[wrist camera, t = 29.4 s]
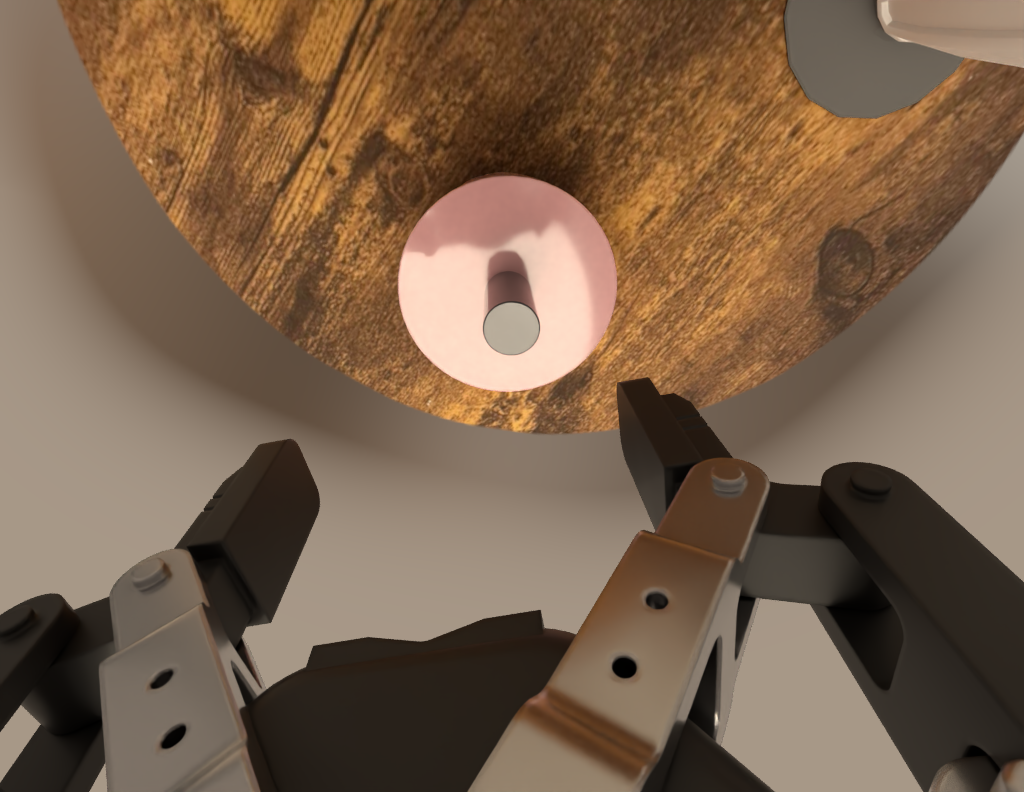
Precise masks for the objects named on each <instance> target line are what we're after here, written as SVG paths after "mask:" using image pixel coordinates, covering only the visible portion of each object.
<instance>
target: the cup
mask: <svg viewBox="0 0 1024 792" xmlns="http://www.w3.org/2000/svg"><path fill="white" fill-rule="evenodd" d="M784 22H785V31H786V41H787V51H788V61H789V65H790V67H791V69H792V71H793V73H794V74H795V76H796V78H797V80H798V81H799V83H800V85H801V87H802V89H803V90H804V92H805V94H806V96H807V97H808V99H810V100H811V101H813V102H815V103H816V104H818V105H820V106H821V107H823V108H825V109H826V110H828V111H829V112H831V113H833V114H834V115H836V116H838V117H850V118H879V117H881V116H884V115H886V114H889V113H892V112H894V111H897V110H899V109H902V108H904V107H907V106H910V105H912V104H915V103H917V102H918V101H919V100H920V99H922V98H923V97H924V96H925V95H927V94H928V93H929V92H930V91H932V90H933V89H934V88H935V87H936V86H938V85H939V84H940V83H941V82H943V81H944V80H945V79H946V78H947V77H949V76H950V75H951V74H952V73H954V72H955V70H956V69H957V68H958V66H959V65H960V63H961V62H962V61H963V59H964V58H969V59H975V60H981V61H987V62H993V63H999V64H1005V65H1011V66H1017V67H1022V68H1024V0H788V3H787V7H786V11H785V16H784Z"/></svg>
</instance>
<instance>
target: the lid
mask: <svg viewBox="0 0 1024 792" xmlns="http://www.w3.org/2000/svg"><path fill="white" fill-rule="evenodd" d="M616 293H617V272H616V265H615V260H614V255H613V252H612V249H611V246H610V244H609V241H608V239H607V237H606V235H605V233H604V231H603V229H602V228H601V226H600V225H599V223H598V222H597V220H596V219H595V217H594V216H593V215H592V214H591V213H590V212H589V211H588V210H587V209H586V207H585V206H584V205H583V204H581V203H580V202H579V201H578V200H576V199H575V198H574V197H573V196H572V195H570V194H569V193H567V192H565V191H564V190H562V189H560V188H559V187H557V186H555V185H552V184H550V183H547V182H545V181H542V180H539V179H535V178H531V177H526V176H518V175H496V176H490V177H484V178H480V179H477V180H474V181H471V182H468V183H465V184H463V185H461V186H459V187H457V188H455V189H453V190H451V191H450V192H448V193H447V194H445V195H444V196H443V197H441V198H440V199H439V200H438V201H436V202H435V203H434V204H433V205H432V206H431V207H430V208H429V209H428V210H427V211H426V212H425V214H424V215H423V216H422V217H421V218H420V220H419V221H418V222H417V224H416V225H415V227H414V229H413V230H412V232H411V233H410V235H409V238H408V240H407V242H406V244H405V247H404V250H403V253H402V256H401V260H400V265H399V272H398V296H399V304H400V308H401V312H402V316H403V319H404V322H405V324H406V326H407V329H408V331H409V333H410V335H411V336H412V338H413V340H414V342H415V343H416V345H417V346H418V347H419V349H420V350H421V351H422V353H423V354H424V355H425V356H426V357H427V358H428V359H429V360H430V361H431V362H432V363H433V364H434V365H436V366H437V367H438V368H439V369H440V370H442V371H443V372H445V373H446V374H448V375H449V376H451V377H453V378H454V379H456V380H459V381H461V382H463V383H465V384H468V385H471V386H474V387H477V388H481V389H486V390H490V391H502V392H510V391H522V390H529V389H533V388H536V387H540V386H543V385H546V384H548V383H551V382H553V381H555V380H557V379H559V378H561V377H563V376H565V375H566V374H568V373H569V372H570V371H572V370H573V369H575V368H576V367H577V366H578V365H580V364H581V363H582V362H583V361H584V360H585V359H586V358H587V357H588V356H589V355H590V353H591V352H592V351H593V350H594V349H595V348H596V346H597V345H598V343H599V342H600V340H601V339H602V337H603V335H604V333H605V331H606V329H607V327H608V325H609V323H610V320H611V317H612V314H613V311H614V306H615V301H616Z"/></svg>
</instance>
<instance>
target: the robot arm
mask: <svg viewBox="0 0 1024 792" xmlns="http://www.w3.org/2000/svg"><path fill="white" fill-rule="evenodd" d="M617 402H618V413H619V425H620V436H621V444H622V449H623V453H624V457H625V460H626V463H627V465H628V467H629V470H630V472H631V475H632V477H633V479H634V482H635V484H636V486H637V489H638V491H639V493H640V496H641V498H642V500H643V503H644V505H645V508H646V510H647V512H648V515H649V517H650V519H651V522H652V524H653V526H654V529H655V533H652V532H649V531H646V530H641V531H640V532H638V534H637V535H636V536H635V538H634V539H633V541H632V542H631V544H630V546H629V547H628V549H627V551H626V552H625V554H624V556H623V557H622V559H621V561H620V563H619V564H618V566H617V567H616V569H615V571H614V572H613V574H612V576H611V577H610V579H609V581H608V582H607V584H606V586H605V588H604V589H603V591H602V593H601V594H600V596H599V598H598V599H597V601H596V603H595V604H594V606H593V608H592V609H591V611H590V613H589V614H588V616H587V618H586V620H585V621H584V623H583V624H582V626H581V628H580V629H579V631H578V633H577V634H573V633H570V632H566V631H560V630H556V629H546V628H544V624H543V619H542V614H541V610H537V611H530V612H524V613H517V614H511V615H506V616H498V617H492V618H486V619H482V620H480V621H477V622H474V623H472V624H470V625H467V626H464V627H462V628H459V629H457V630H454V631H451V632H449V633H446V634H444V635H441V636H439V637H436V638H433V639H431V640H428V641H423V642H417V641H406V640H394V639H382V638H372V637H366V638H360V639H354V640H348V641H341V642H335V643H329V644H322V645H316V646H313V648H312V651H311V654H310V657H309V660H308V663H307V666H306V667H305V668H303V669H301V670H298V671H297V672H295V673H292V674H291V675H289V676H287V677H285V678H283V679H282V680H280V681H279V682H277V683H275V684H273V685H272V686H271V687H269V688H268V689H266V687H265V684H264V682H263V680H262V677H261V675H260V673H259V670H258V668H257V665H256V663H255V661H254V658H253V656H252V654H251V651H250V649H249V646H248V645H247V643H246V641H245V640H244V638H243V637H242V635H243V633H244V631H245V628H246V627H248V626H254V625H260V624H267V623H271V622H272V619H273V617H274V615H275V612H276V610H277V608H278V606H279V603H280V601H281V598H282V596H283V594H284V592H285V589H286V587H287V585H288V582H289V580H290V578H291V575H292V573H293V571H294V568H295V566H296V564H297V561H298V559H299V557H300V555H301V552H302V550H303V547H304V545H305V543H306V541H307V538H308V536H309V534H310V531H311V529H312V527H313V524H314V522H315V520H316V517H317V515H318V512H319V507H320V498H319V492H318V489H317V486H316V484H315V482H314V479H313V477H312V475H311V473H310V470H309V468H308V466H307V463H306V461H305V459H304V457H303V454H302V452H301V450H300V448H299V446H298V444H297V443H296V442H295V441H294V440H293V439H287V440H282V441H275V442H270V443H265V444H260V445H258V447H257V448H256V449H255V451H254V452H253V453H252V455H251V456H250V458H249V459H248V460H247V462H246V463H245V465H244V466H243V467H241V468H240V469H239V470H237V471H236V472H235V473H234V474H232V475H231V476H230V477H229V478H228V479H226V480H225V481H224V482H223V483H222V485H221V486H220V487H219V489H218V490H217V491H216V493H215V494H214V496H213V499H210V501H209V502H208V504H207V505H206V506H205V508H204V512H201V513H200V515H199V516H198V517H197V518H196V520H195V521H194V523H193V524H192V525H191V527H190V528H189V529H188V531H187V532H186V533H185V535H184V536H183V538H182V539H181V540H180V542H179V543H178V544H177V546H176V547H175V548H174V549H170V550H166V551H162V552H160V553H157V554H155V555H152V556H150V557H148V558H146V559H144V560H142V561H141V562H139V563H138V564H136V565H135V566H133V567H132V568H131V569H129V570H128V571H127V572H126V573H125V574H123V575H122V576H121V577H120V578H119V579H118V581H117V582H116V583H115V584H114V586H113V588H112V590H111V592H110V596H109V597H107V598H104V599H102V600H99V601H96V602H93V603H91V604H89V605H86V606H83V607H80V608H78V609H75V610H73V609H72V607H71V606H70V605H69V604H68V603H67V602H66V600H65V599H64V598H63V597H62V596H61V595H59V594H45V595H41V596H37V597H34V598H31V599H29V600H27V601H24V602H22V603H20V604H18V605H16V606H14V607H13V608H11V609H9V610H8V611H6V612H4V613H3V614H1V615H0V732H1V730H2V729H3V728H4V726H5V725H6V724H7V722H8V721H9V720H10V718H11V717H12V716H13V714H14V713H15V712H16V710H17V709H18V708H19V706H20V705H22V706H23V707H24V708H25V709H26V710H27V711H28V712H29V713H30V714H31V715H32V716H33V717H34V718H35V719H36V720H37V721H38V722H39V723H40V724H41V725H40V726H39V728H38V729H37V731H36V732H35V733H34V735H33V736H32V738H31V739H30V741H29V742H28V744H27V745H26V747H25V748H24V749H23V751H22V752H21V754H20V755H19V757H18V758H17V760H16V761H15V763H14V764H13V765H12V767H11V768H10V770H9V771H8V772H7V774H6V775H5V777H4V778H3V780H2V781H1V783H0V792H89V791H90V789H91V787H92V786H93V784H94V782H95V780H96V778H97V777H98V775H99V773H100V771H101V769H102V767H103V766H104V764H105V763H106V777H107V789H108V792H774V791H773V790H772V789H771V788H770V787H768V786H767V785H766V784H765V783H764V782H763V781H761V780H760V779H759V778H758V777H757V776H756V775H754V774H753V773H752V772H751V771H750V770H748V769H747V768H746V767H745V766H744V765H743V764H741V763H740V762H739V761H738V760H737V759H735V758H734V757H733V756H732V755H731V754H729V753H728V752H727V751H726V750H725V749H724V748H723V747H721V743H722V740H723V737H724V733H725V730H726V725H727V722H728V718H729V713H730V709H731V703H732V698H733V691H734V686H735V681H736V677H737V673H738V670H739V667H740V663H741V660H742V657H743V654H744V650H745V647H746V644H747V640H748V637H749V634H750V631H751V627H752V624H753V621H754V618H755V614H756V611H757V608H758V604H759V601H760V598H762V599H771V600H779V601H787V602H797V603H805V604H810V605H811V607H812V608H813V610H814V611H815V613H816V615H817V616H818V618H819V620H820V622H821V623H822V625H823V626H824V628H825V630H826V631H827V633H828V635H829V636H830V638H831V640H832V641H833V643H834V645H835V646H836V648H837V650H838V651H839V653H840V654H841V656H842V658H843V660H844V661H845V663H846V664H847V666H848V668H849V670H850V671H851V673H852V675H853V676H854V678H855V679H856V681H857V683H858V684H859V686H860V688H861V689H862V691H863V693H864V694H865V696H866V698H867V699H868V701H869V702H870V704H871V706H872V707H873V709H874V711H875V713H876V714H877V716H878V718H879V719H880V721H881V722H882V724H883V726H884V727H885V729H886V731H887V732H888V734H889V736H890V737H891V739H892V740H893V742H894V744H895V746H896V747H897V749H898V750H899V752H900V754H901V755H902V757H903V759H904V761H905V762H906V764H907V765H908V767H909V769H910V771H911V772H912V774H913V775H914V777H915V779H916V780H917V782H918V784H919V785H920V787H921V789H922V790H923V792H1024V582H1023V581H1022V580H1021V579H1019V577H1018V576H1016V575H1015V574H1014V573H1013V572H1012V571H1011V570H1010V569H1009V568H1008V567H1007V566H1005V565H1004V564H1003V563H1002V562H1001V561H1000V560H999V559H998V558H997V557H996V556H994V555H993V554H992V553H991V552H990V551H989V550H988V549H987V548H986V547H984V546H983V545H982V544H981V543H980V542H979V541H978V540H977V539H976V538H975V537H974V536H973V535H971V534H970V533H969V532H968V531H967V530H966V529H965V528H964V527H963V526H961V525H960V524H959V523H958V522H957V521H956V520H955V519H954V518H953V517H952V516H951V515H949V514H948V513H947V512H946V511H945V510H944V509H943V508H942V507H941V506H940V505H938V504H937V503H936V502H935V501H934V500H933V499H932V498H931V497H930V496H929V495H928V494H926V493H925V492H924V491H923V490H922V489H921V488H920V487H919V486H918V485H917V484H915V483H914V482H913V481H912V480H910V479H909V478H908V477H907V476H905V475H903V474H902V473H900V472H897V471H895V470H893V469H890V468H888V467H884V466H881V465H877V464H871V463H863V462H849V463H842V464H838V465H835V466H833V467H831V468H829V469H828V470H826V471H825V472H824V474H823V476H822V480H821V486H811V485H790V484H779V483H774V482H770V481H769V479H768V477H767V475H766V474H765V473H764V472H763V471H762V470H761V469H760V468H758V467H757V466H755V465H753V464H751V463H749V462H746V461H743V460H739V459H734V458H733V457H732V456H731V455H730V453H729V452H728V451H727V450H726V448H725V447H724V445H723V444H722V443H721V442H720V441H719V439H718V438H717V436H716V435H715V434H714V432H713V431H712V430H711V428H710V427H708V426H707V423H706V422H705V420H704V419H703V418H702V417H700V414H699V412H698V411H697V410H696V408H695V407H694V406H693V404H692V403H691V402H690V401H688V400H686V399H684V398H682V397H680V396H678V395H677V394H675V393H672V394H666V395H660V394H659V392H658V391H657V389H656V388H655V386H654V385H653V383H652V382H651V380H650V379H649V378H648V377H646V378H641V379H635V380H629V381H623V382H618V383H617Z"/></svg>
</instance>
